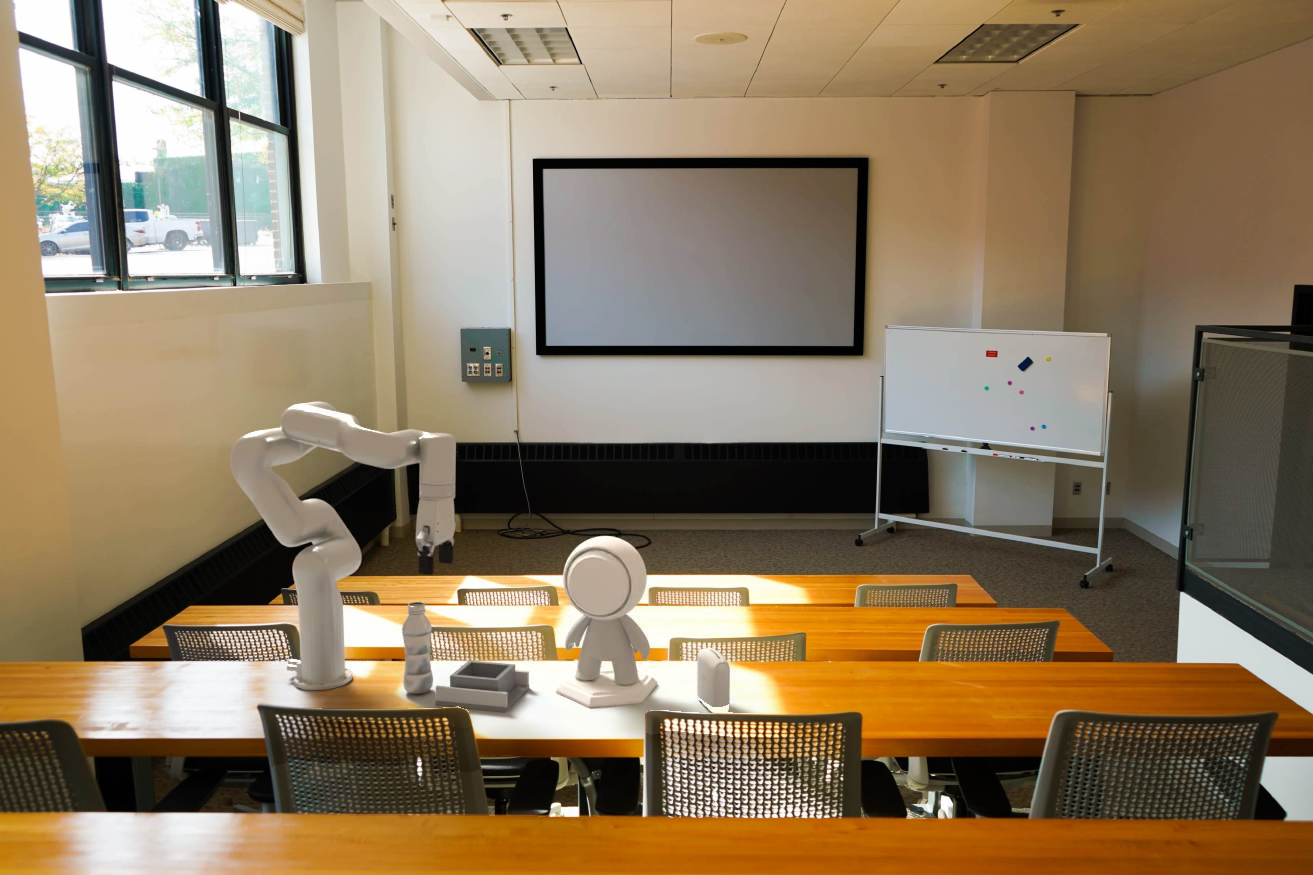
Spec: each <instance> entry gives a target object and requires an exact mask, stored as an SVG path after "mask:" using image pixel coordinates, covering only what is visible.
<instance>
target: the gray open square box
mask: <svg viewBox="0 0 1313 875" xmlns="http://www.w3.org/2000/svg"><path fill="white" fill-rule="evenodd" d="M529 689H530V672H529V670H519V669H518V670H517V669H516V664H512V663H504V662H493V661H492V662H490V661H480V660H470V659H469V660H468V661H466V662H465V663H464V664H462V665H461V666H460V667H459V668H458V669H457V670H455V671H454V672H453V673H452V674H450V676H449V686H445V685H436V686H435V706H437V707H438V706H439V707H448V706H459V707H465V708H464V709H468V710H469V709H470V710H479V711H489V712H500V713H507V712H508V711H509V710H510V709H511V708H512V707H513V706H514V705H515V703H517V702H518V700H520V698H522V696H523V695H525V693H526V692H527V691H528V690H529Z"/></svg>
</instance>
